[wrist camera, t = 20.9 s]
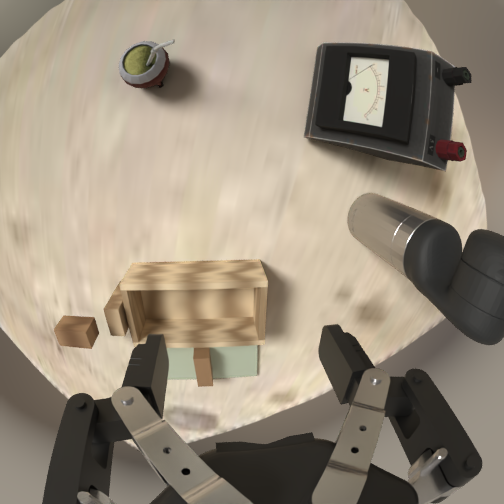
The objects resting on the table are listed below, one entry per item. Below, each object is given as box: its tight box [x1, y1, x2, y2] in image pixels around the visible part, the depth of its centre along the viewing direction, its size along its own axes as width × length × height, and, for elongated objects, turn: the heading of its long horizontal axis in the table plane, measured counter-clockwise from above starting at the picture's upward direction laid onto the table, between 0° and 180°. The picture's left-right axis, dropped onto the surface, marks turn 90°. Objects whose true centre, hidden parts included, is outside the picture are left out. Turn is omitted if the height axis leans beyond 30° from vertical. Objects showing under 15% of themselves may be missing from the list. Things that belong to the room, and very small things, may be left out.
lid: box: [167, 345, 258, 387], centre depth 53 cm, size 22×12×6 cm, turn 90°
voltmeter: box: [304, 42, 471, 171], centre depth 31 cm, size 16×16×20 cm
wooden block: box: [54, 316, 99, 349], centre depth 35 cm, size 6×3×4 cm, turn 89°
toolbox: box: [104, 260, 268, 348], centre depth 44 cm, size 25×12×10 cm, turn 89°
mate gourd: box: [119, 39, 174, 88], centre depth 28 cm, size 8×8×15 cm
